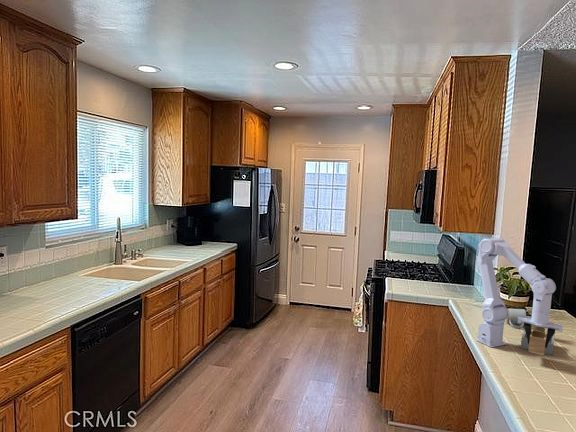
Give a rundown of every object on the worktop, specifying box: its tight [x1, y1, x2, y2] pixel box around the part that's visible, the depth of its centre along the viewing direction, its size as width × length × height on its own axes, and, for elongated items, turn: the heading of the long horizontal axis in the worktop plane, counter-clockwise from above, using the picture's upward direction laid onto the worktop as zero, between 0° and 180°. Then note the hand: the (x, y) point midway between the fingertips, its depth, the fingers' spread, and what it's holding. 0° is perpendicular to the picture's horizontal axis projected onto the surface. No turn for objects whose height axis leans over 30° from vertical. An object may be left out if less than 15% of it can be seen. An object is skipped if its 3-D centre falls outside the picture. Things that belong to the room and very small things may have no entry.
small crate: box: [528, 330, 547, 356], centre depth 158 cm, size 9×5×6 cm, turn 146°
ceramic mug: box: [505, 308, 527, 330], centre depth 197 cm, size 11×8×8 cm
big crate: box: [520, 328, 555, 356], centre depth 172 cm, size 13×11×4 cm
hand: (537, 345), depth 158 cm, fingers closed on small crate, 5 cm apart
